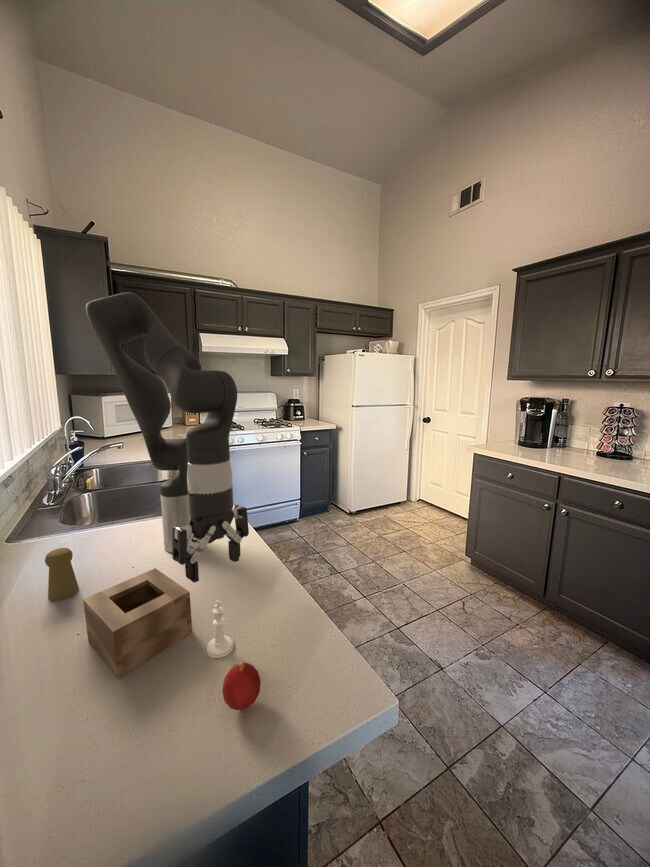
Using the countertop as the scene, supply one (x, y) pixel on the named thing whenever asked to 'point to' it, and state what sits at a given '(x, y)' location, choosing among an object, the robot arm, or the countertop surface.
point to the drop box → (137, 619)
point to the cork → (61, 575)
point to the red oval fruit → (241, 686)
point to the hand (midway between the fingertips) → (214, 570)
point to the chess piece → (219, 636)
